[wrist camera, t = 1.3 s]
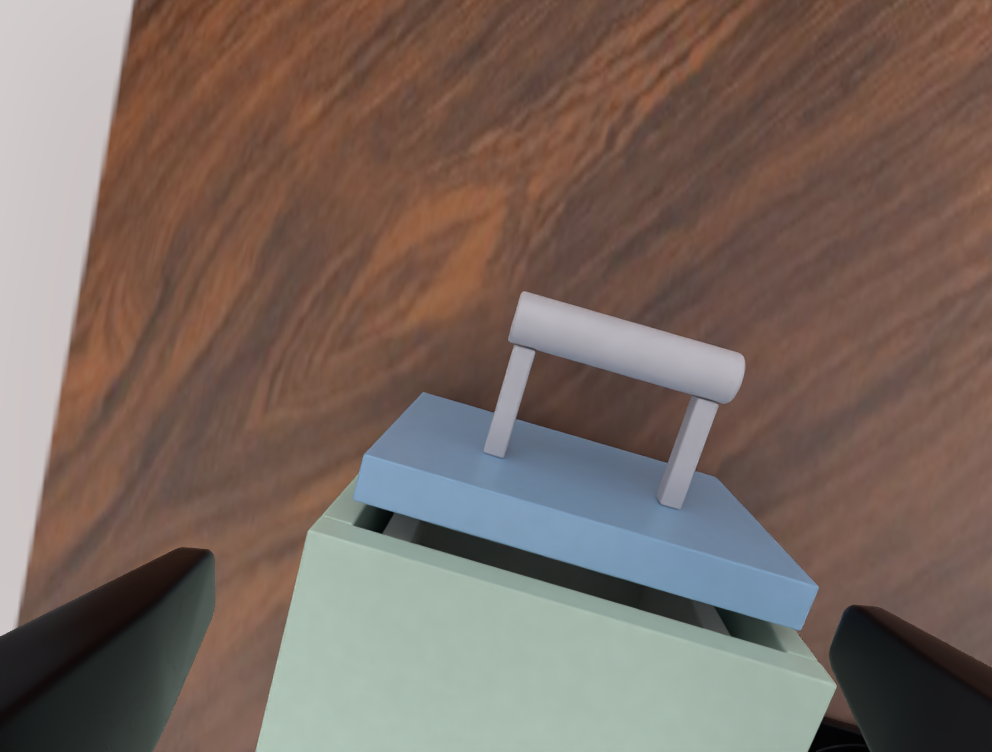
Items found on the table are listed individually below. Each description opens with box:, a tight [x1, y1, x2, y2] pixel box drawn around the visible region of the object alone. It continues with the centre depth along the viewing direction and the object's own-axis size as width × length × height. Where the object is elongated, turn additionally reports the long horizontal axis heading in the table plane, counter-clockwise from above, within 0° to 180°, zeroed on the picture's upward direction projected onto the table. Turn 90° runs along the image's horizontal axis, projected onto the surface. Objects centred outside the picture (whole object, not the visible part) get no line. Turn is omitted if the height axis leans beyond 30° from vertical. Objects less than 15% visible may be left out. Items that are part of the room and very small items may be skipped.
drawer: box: [353, 291, 819, 636], centre depth 17 cm, size 17×11×7 cm, turn 164°
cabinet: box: [256, 474, 837, 752], centre depth 18 cm, size 14×12×9 cm
